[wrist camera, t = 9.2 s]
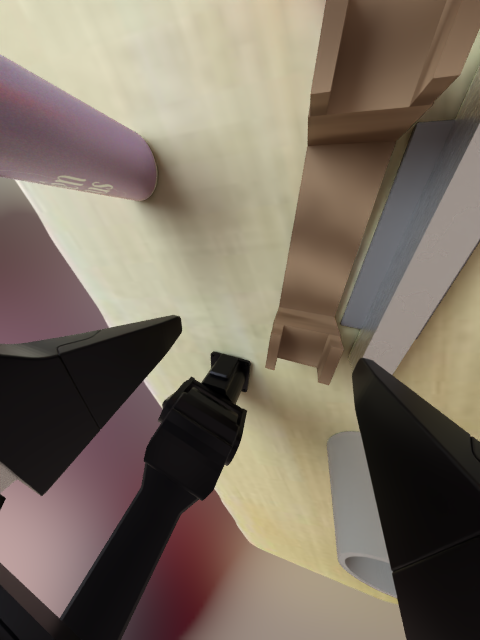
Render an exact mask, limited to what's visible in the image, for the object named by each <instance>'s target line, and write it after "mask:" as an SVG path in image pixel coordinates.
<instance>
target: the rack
mask: <svg viewBox="0 0 480 640" xmlns="http://www.w3.org/2000/svg"><path fill="white" fill-rule="evenodd" d="M479 29H480V0H326V5H325V11H324V17H323V23H322V29H321V35H320V41H319V47H318V53H317V59H316V65H315V71H314V77H313V83H312V89H311V99H310V109H309V115H308V147H307V152H306V158H305V164H304V169H303V175H302V181H301V186H300V192H299V197H298V203H297V209H296V214H295V220H294V226H293V231H292V237H291V243H290V248H289V254H288V260H287V265H286V271H285V276H284V282H283V288H282V293H281V299H280V305H279V309H278V311H277V314H276V317H275V320H274V323H273V328H272V332H271V336H270V342H269V348H268V354H267V360H266V366H265V368H268V369H272V370H275V365H276V361H277V358H281V359H285V360H289V361H293V362H297V363H301V364H304V365H308V366H312V367H316V368H317V373H318V382H319V383H323V384H326V385H329V384H330V381H331V379H332V377H333V374H334V372H335V370H336V367H337V365H338V362H339V360H340V358H341V355H342V353H343V351H344V348H343V345H342V342H341V339H340V338H341V335H340V332H339V329H338V326H337V323H336V320H335V314H336V311H337V308H338V306H339V303H340V300H341V297H342V294H343V291H344V289H345V286H346V283H347V280H348V277H349V274H350V272H351V269H352V266H353V263H354V260H355V257H356V254H357V252H358V249H359V246H360V243H361V240H362V237H363V235H364V232H365V229H366V226H367V223H368V220H369V218H370V215H371V212H372V209H373V206H374V203H375V200H376V198H377V195H378V192H379V189H380V186H381V183H382V181H383V178H384V175H385V172H386V169H387V166H388V163H389V161H390V158H391V155H392V152H393V149H394V146H395V144H396V141H397V140H398V139H399V138H400V137H401V136H402V135H403V134H404V133H405V132H406V131H407V130H408V129H409V128H410V127H411V126H412V125H413V124H414V123H415V122H416V121H417V120H418V119H419V118H420V117H421V116H422V115H423V114H424V113H425V112H426V111H427V110H428V109H429V108H430V107H431V106H432V105H433V103H434V101H435V100H436V99H437V98H438V97H439V96H440V95H441V94H442V93H443V92H444V91H445V90H446V89H447V88H448V87H449V86H450V85H451V84H452V83H453V81H454V80H455V79H456V78H457V77H458V76H459V75H460V74H461V71H462V69H463V67H464V64H465V62H466V59H467V57H468V55H469V52H470V50H471V48H472V45H473V43H474V41H475V38H476V36H477V33H478V31H479Z"/></svg>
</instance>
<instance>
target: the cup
mask: <svg viewBox="0 0 480 640" xmlns="http://www.w3.org/2000/svg"><path fill="white" fill-rule="evenodd" d="M327 452H328V463H329V473H330V484H331V494H332V505H333V515H334V525H335V536H336V546H337V557H338V561H339V563H340V565H341V566H342V567H343V568H344V569H345V570H346V571H347V572H348V573H350V574H351V575H352V576H354V577H355V578H357V579H358V580H360V581H362V582H363V583H365V584H367V585H369V586H370V587H372V588H374V589H376V590H378V591H381V592H383V593H385V594H387V595H390V596H392V597H395V598H397V595H396V590H395V586H394V581H393V577H392V570H391V567H390V563H389V558H388V554H387V549H386V545H385V540H384V536H383V531H382V527H381V522H380V518H379V513H378V509H377V505H376V500H375V496H374V491H373V487H372V482H371V478H370V473H369V469H368V464H367V460H366V456H365V451H364V447H363V442H362V438H361V433H360V432H355V431H346V432H340V433H337V434H334V435H333V436H331V437H330V438H329V440H328V441H327Z"/></svg>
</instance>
